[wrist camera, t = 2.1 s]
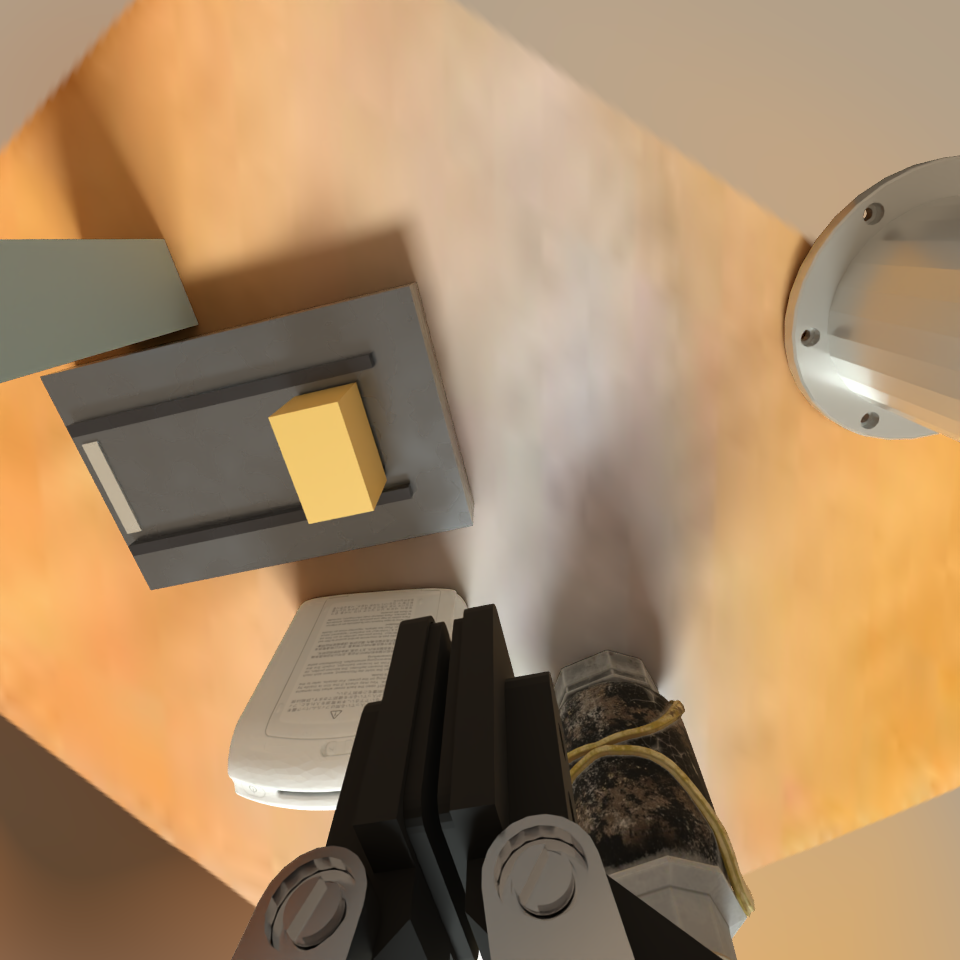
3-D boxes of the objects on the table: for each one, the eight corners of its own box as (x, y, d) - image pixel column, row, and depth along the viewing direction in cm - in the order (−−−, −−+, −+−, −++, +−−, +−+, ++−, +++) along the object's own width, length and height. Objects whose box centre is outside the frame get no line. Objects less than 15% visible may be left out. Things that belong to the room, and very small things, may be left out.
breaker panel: (416, 282, 28) (407, 286, 25) (474, 505, 32) (472, 531, 30) (75, 365, 30) (30, 379, 27) (173, 566, 34) (144, 596, 31)
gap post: (164, 239, 27) (-128, 240, 15) (198, 324, 29) (-39, 394, 16) (86, 259, 28) (-264, 278, 15) (124, 342, 29) (-165, 425, 16)
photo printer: (308, 652, 36) (225, 841, 25) (292, 593, 35) (195, 767, 23) (473, 638, 36) (464, 826, 24) (464, 578, 34) (450, 749, 23)
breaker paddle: (355, 381, 27) (337, 401, 24) (387, 480, 29) (373, 510, 26) (294, 396, 27) (268, 417, 24) (329, 492, 29) (309, 524, 26)
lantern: (568, 757, 39) (679, 1496, 16) (513, 672, 37) (550, 1409, 14) (691, 711, 38) (1010, 1462, 15) (642, 618, 35) (936, 1356, 12)
